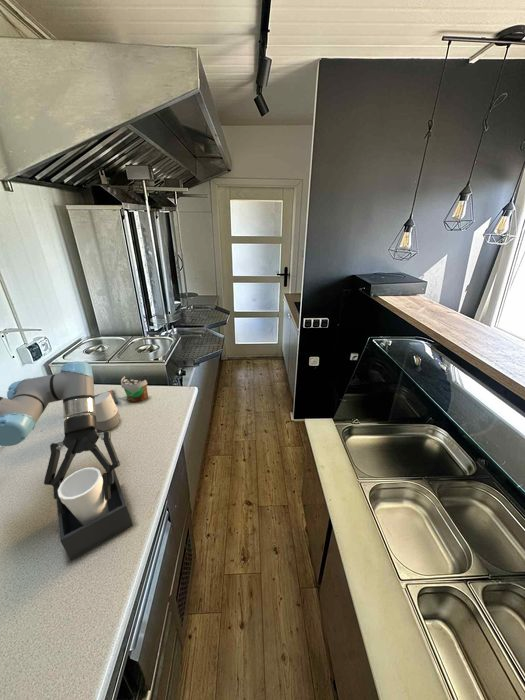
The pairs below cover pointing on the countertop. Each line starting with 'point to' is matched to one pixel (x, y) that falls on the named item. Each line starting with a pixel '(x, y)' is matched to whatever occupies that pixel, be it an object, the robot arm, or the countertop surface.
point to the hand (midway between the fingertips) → (85, 505)
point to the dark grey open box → (94, 524)
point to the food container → (135, 389)
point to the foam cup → (84, 494)
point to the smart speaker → (106, 412)
